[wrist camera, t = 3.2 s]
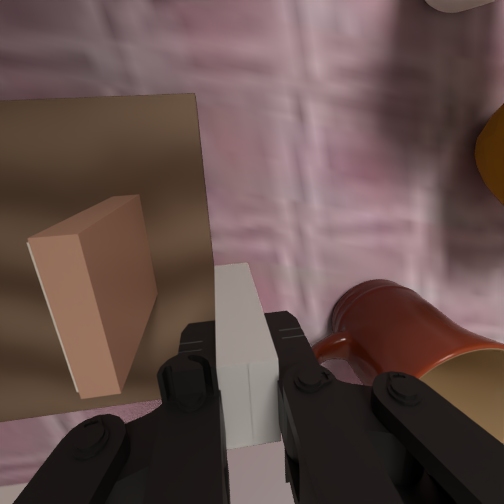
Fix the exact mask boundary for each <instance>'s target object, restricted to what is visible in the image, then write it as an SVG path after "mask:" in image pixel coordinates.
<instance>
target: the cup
mask: <svg viewBox="0 0 504 504" xmlns="http://www.w3.org/2000/svg"><path fill="white" fill-rule="evenodd" d="M425 1H426V2H427V4H428V5H430V6H431V7H433V8H434V9H436V10H438V11H441V12H445V13H457V12H461V11H465V10H469V9H472V8H475V7H478V6H482V5H485V4H488V3H491V2H493V1H497V0H425Z"/></svg>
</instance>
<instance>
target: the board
mask: <svg viewBox="0 0 504 504" xmlns="http://www.w3.org/2000/svg"><path fill="white" fill-rule="evenodd" d="M125 195H140V201H141V206H142V212H143V217H144V222H145V228H146V233H147V238H148V244H149V249H150V254H151V260H152V265H153V271H154V276H155V281H156V287H157V292H158V295H157V297H156V300H155V303H154V305H153V308H152V311H151V314H150V316H149V319H148V322H147V324H146V327H145V330H144V333H143V335H142V338H141V341H140V343H139V346H138V349H137V352H136V354H135V357H134V360H133V362H132V365H131V368H130V371H129V373H128V376H127V379H126V381H125V384H124V387H123V389H122V392H121V394H114V395H107V396H100V397H93V398H86V399H81V397H80V394H79V392H77V391H76V388H75V385H74V382H73V379H72V377H71V374H70V371H69V368H68V365H67V362H66V359H65V356H64V353H63V350H62V347H61V344H60V341H59V338H58V335H57V332H56V329H55V326H54V323H53V320H52V317H51V314H50V311H49V308H48V305H47V302H46V299H45V296H44V293H43V291H42V288H41V285H40V282H39V279H38V276H37V273H36V270H35V267H34V264H33V261H32V258H31V255H30V252H29V249H28V246H27V242H28V239H27V238H29V237H31V236H33V235H35V234H37V233H39V232H41V231H43V230H45V229H47V228H49V227H51V226H53V225H56V224H58V223H60V222H62V221H64V220H66V219H68V218H70V217H72V216H74V215H76V214H78V213H80V212H82V211H84V210H86V209H88V208H90V207H92V206H94V205H96V204H98V203H100V202H102V201H104V200H106V199H108V198H111V197H113V196H125ZM213 320H215V271H214V261H213V252H212V243H211V233H210V224H209V215H208V206H207V196H206V187H205V178H204V169H203V159H202V150H201V141H200V132H199V122H198V113H197V104H196V96H195V93H187V94H162V95H136V96H111V97H85V98H60V99H34V100H9V101H0V422H5V421H12V420H19V419H26V418H33V417H39V416H46V415H53V414H60V413H67V412H74V411H81V410H88V409H95V408H102V407H109V406H116V405H123V404H129V403H136V402H143V401H150V400H157V399H161V395H160V390H159V385H158V380H157V375H156V374H157V372H158V370H159V369H160V367H161V366H162V365H163V364H164V363H165V362H166V361H167V360H168V359H170V358H172V357H174V356H176V355H178V349H179V345H180V337H181V332H182V331H183V330H184V329H185V327H186V326H187V325H188V324H189V323H196V322H205V321H213Z"/></svg>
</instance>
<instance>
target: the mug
mask: <svg viewBox="0 0 504 504" xmlns="http://www.w3.org/2000/svg"><path fill="white" fill-rule="evenodd" d="M332 331H333V334H331V335H329V336H328V337H326V338H324V339H323V340H321V341H319V342H318V343H316V344H315V345H313V346H312V347H311V348H312V350H313V352H314V354H315V356H316V358H317V360H318V362H319V364H321V363H322V362H324V361H326V360H329V359H344V360H346V361H347V362H348V363H349V365H350V366H351V368H352V369H353V371H354V372H355V374H356V375H357V376H358V378H359V379H360V381H361V382H362V383H363V385H366V386H372V384H373V381H374V379H375V377H376V376H378V375H379V374H381V373H384V372H389V371H395V372H403V373H406V374H409V375H412V376H415V377H416V378H418V379H419V380H421V381H423V382H424V383H426V384H427V385H428V386H430V387H431V388H432V389H433V390H435V391H436V392H437V393H439V394H440V395H441V396H442V397H444V398H445V399H446V400H448V401H449V402H450V403H451V404H453V405H454V406H455V407H457V408H458V409H459V410H460V411H462V412H463V413H464V414H466V415H467V416H468V417H469V418H471V419H472V420H473V421H474V422H476V423H477V424H478V425H480V426H481V427H482V428H483V429H485V430H486V431H487V432H489V433H490V434H491V435H492V436H494V437H495V438H496V439H498V440H499V441H500V442H501V443H503V444H504V344H503V343H500V342H497V341H494V340H491V339H488V338H486V337H483V336H480V335H477V334H475V333H473V332H470V331H468V330H466V329H464V328H462V327H461V326H459V325H458V324H456V323H455V322H453V321H452V320H451V319H449V318H448V317H447V316H446V315H444V314H443V313H442V312H441V311H439V310H438V309H437V308H435V307H434V306H433V305H432V304H430V303H429V302H427V301H426V300H425V299H423V298H422V297H421V296H420V295H419V294H417V293H416V292H415V291H413V290H411V289H409V288H406V287H403V286H401V285H399V284H397V283H395V282H392V281H389V280H382V279H376V280H370V281H366V282H363V283H361V284H359V285H357V286H355V287H353V288H352V289H350V290H349V291H348V292H347V293H346V294H345V295H344V296H343V297H342V298H341V299H340V300H339V302H338V303H337V305H336V307H335V309H334V312H333V316H332Z"/></svg>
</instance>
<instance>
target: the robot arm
mask: <svg viewBox="0 0 504 504" xmlns="http://www.w3.org/2000/svg"><path fill="white" fill-rule="evenodd" d="M214 271H215V320H213V321H205V322H196V323H189V324H188V325H187V326H186V327H185V329H184V330H183V331H182V332H181V337H180V345H179V349H178V355H176V356H174V357H172V358H170V359H168V360H167V361H166V362H165V363H164V364H163V365H162V366H161V367H160V369H159V370H158V372H157V374H156V375H157V380H158V385H159V390H160V395H161V400H162V404H161V405H160V406H159V407H158V408H157V409H155V410H154V411H152V412H151V413H149V414H147V415H145V416H143V417H140V418H138V419H136V420H133V421H131V422H128V423H126V424H125V423H124V422H123V421H122V419H121V418H120V417H119V416H115V415H111V414H105V415H97V416H95V417H92V418H90V419H87V420H85V421H83V422H82V423H80V424H79V425H77V426H76V427H74V428H73V429H72V430H71V431H70V432H69V433H68V434H67V435H66V436H65V437H64V438H63V439H62V440H61V441H60V443H59V444H58V445H57V446H56V448H55V449H54V450H53V452H52V453H51V454H50V456H49V457H48V458H47V460H46V461H45V462H44V463H43V465H42V466H41V467H40V469H39V470H38V471H37V473H36V474H35V475H34V476H33V478H32V479H31V480H30V482H29V483H28V484H27V486H26V487H25V488H24V490H23V491H22V492H21V493H20V495H19V496H18V498H17V499H16V500H15V501H14V503H13V504H230V489H229V472H228V463H227V450H230V449H236V448H242V447H248V446H254V445H260V444H266V443H272V442H278V441H281V434H282V438H283V442H284V446H285V473H286V474H285V476H286V483H287V482H290V485H291V490H292V494H293V498H294V502H295V504H504V444H503V443H501V442H500V441H499V440H498V439H496V438H495V437H494V436H492V435H491V434H490V433H489V432H487V431H486V430H485V429H483V428H482V427H481V426H480V425H478V424H477V423H476V422H474V421H473V420H472V419H471V418H469V417H468V416H467V415H466V414H464V413H463V412H462V411H460V410H459V409H458V408H457V407H455V406H454V405H453V404H451V403H450V402H449V401H448V400H446V399H445V398H444V397H442V396H441V395H440V394H439V393H437V392H436V391H435V390H433V389H432V388H431V387H430V386H428V385H427V384H426V383H424V382H423V381H421V380H419V379H418V378H416V377H415V376H412V375H409V374H406V373H403V372H395V371H389V372H384V373H381V374H379V375H378V376H376V377H375V379H374V381H373V384H372V386H366V385H357V384H350V383H345V382H342V381H339V380H337V379H336V378H335V376H334V375H333V374H332V373H331V372H330V371H329V370H328V369H326V368H324V367H323V366H321V365H320V364H319V362H318V360H317V358H316V356H315V354H314V352H313V350H312V348H311V346H310V344H309V342H308V340H307V338H306V336H305V335H304V332H303V330H302V329H301V327H300V325H299V323H298V321H297V319H296V317H294V316H293V315H292V314H290V313H289V312H288V311H280V312H272V313H263V309H262V306H261V303H260V300H259V297H258V294H257V291H256V287H255V284H254V281H253V278H252V275H251V272H250V269H249V265H248V262H247V263H237V264H227V265H217V266H214Z"/></svg>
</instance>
